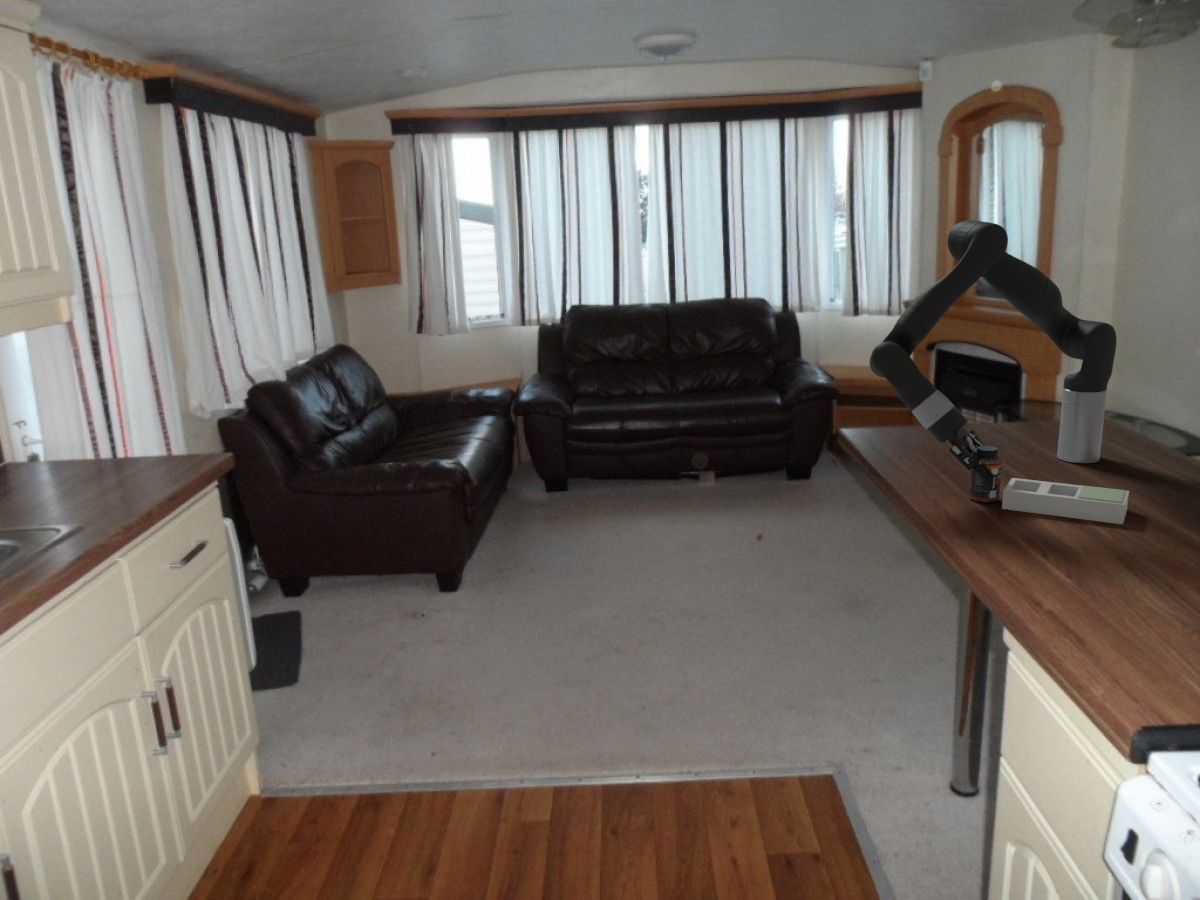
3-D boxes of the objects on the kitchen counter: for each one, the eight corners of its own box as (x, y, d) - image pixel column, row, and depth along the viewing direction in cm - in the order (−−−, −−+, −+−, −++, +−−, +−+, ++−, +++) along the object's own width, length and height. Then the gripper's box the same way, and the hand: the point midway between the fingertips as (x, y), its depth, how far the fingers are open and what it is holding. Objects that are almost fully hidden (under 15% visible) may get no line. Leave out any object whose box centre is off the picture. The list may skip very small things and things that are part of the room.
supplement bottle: (1001, 503, 197) (1005, 451, 195) (971, 503, 199) (975, 451, 196) (995, 495, 203) (999, 444, 200) (966, 494, 204) (970, 444, 201)
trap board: (1010, 495, 203) (1012, 476, 202) (1127, 509, 191) (1129, 489, 190) (1001, 508, 194) (1003, 488, 193) (1123, 524, 183) (1125, 503, 182)
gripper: (944, 412, 194) (1002, 474, 191) (960, 399, 206) (1014, 457, 202) (917, 434, 198) (973, 496, 195) (934, 420, 210) (987, 478, 207)
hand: (994, 476), depth 199 cm, fingers closed on supplement bottle, 6 cm apart
